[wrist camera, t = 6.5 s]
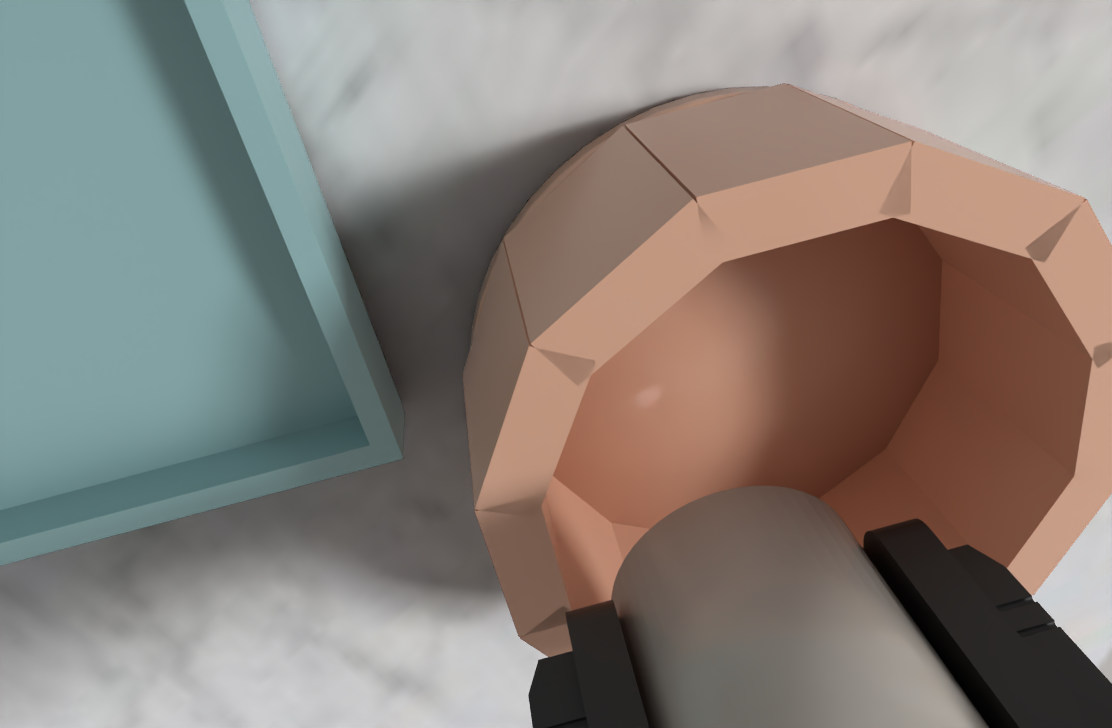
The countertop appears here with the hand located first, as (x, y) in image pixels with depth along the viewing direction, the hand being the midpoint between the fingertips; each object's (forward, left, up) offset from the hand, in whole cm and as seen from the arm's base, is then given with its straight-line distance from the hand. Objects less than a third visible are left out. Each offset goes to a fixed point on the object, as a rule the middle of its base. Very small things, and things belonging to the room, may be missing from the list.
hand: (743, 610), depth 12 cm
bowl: (0, +2, -7) cm, 7 cm away
